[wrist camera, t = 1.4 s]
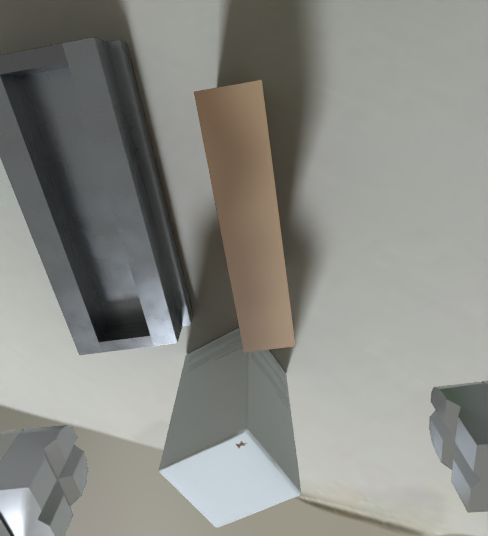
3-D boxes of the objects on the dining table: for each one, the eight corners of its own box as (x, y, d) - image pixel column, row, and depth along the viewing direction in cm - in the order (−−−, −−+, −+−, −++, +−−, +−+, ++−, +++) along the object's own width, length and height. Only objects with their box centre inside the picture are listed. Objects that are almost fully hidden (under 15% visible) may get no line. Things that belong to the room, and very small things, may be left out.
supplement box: (183, 354, 38) (153, 470, 26) (249, 319, 36) (249, 428, 24) (224, 405, 40) (214, 532, 28) (288, 375, 38) (304, 497, 27)
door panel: (257, 84, 28) (261, 79, 17) (281, 263, 33) (295, 346, 23) (216, 92, 28) (193, 91, 17) (246, 268, 34) (244, 352, 23)
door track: (126, 42, 27) (106, 34, 23) (193, 316, 36) (186, 341, 32) (-10, 68, 28) (-50, 64, 24) (88, 329, 36) (70, 356, 33)
